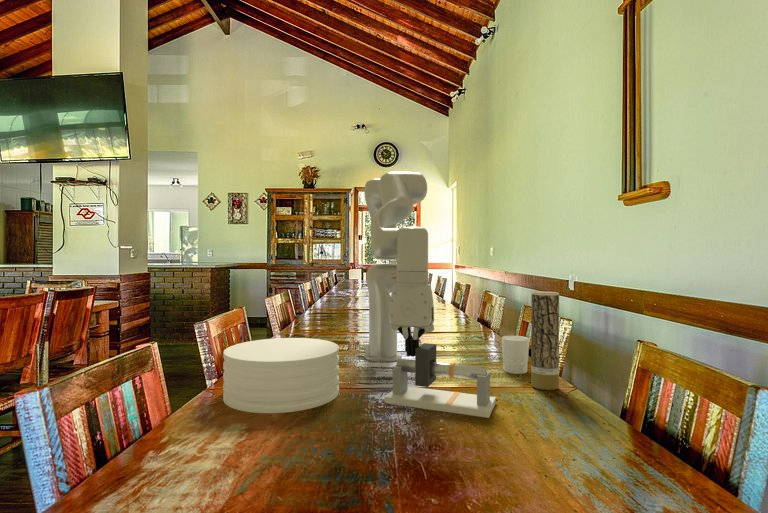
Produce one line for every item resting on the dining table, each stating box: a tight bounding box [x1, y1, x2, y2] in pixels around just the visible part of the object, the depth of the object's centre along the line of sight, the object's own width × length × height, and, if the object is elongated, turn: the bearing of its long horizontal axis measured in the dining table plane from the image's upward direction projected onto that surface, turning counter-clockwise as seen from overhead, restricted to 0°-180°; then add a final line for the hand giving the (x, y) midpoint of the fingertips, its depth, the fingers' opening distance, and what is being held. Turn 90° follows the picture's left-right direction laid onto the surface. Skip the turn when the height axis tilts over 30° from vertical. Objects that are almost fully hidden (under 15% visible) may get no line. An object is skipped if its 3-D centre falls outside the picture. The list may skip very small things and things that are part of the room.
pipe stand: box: [384, 364, 497, 419], centre depth 103 cm, size 24×10×8 cm, turn 67°
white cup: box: [501, 335, 530, 375], centre depth 132 cm, size 8×8×10 cm
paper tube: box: [530, 290, 560, 391], centre depth 116 cm, size 7×7×25 cm
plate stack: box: [222, 337, 340, 414], centre depth 110 cm, size 28×28×12 cm
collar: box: [414, 342, 437, 388], centre depth 104 cm, size 3×7×8 cm, turn 157°
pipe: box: [395, 358, 488, 381], centre depth 103 cm, size 21×3×3 cm, turn 67°
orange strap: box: [445, 362, 461, 406], centre depth 102 cm, size 1×10×8 cm, turn 157°
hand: (412, 355), depth 106 cm, fingers closed
